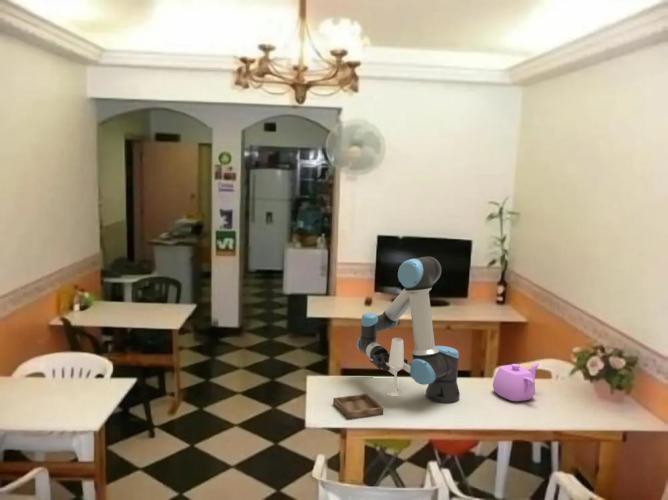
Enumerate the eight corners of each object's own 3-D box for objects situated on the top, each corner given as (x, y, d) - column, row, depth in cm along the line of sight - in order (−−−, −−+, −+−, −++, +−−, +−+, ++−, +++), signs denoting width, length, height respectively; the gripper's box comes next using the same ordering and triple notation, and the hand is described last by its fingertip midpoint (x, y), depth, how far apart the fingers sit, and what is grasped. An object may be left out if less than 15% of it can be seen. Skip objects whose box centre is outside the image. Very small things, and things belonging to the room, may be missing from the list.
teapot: (517, 409, 268) (520, 376, 266) (486, 391, 287) (489, 360, 285) (556, 402, 278) (559, 370, 275) (524, 385, 297) (527, 355, 294)
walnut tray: (366, 400, 271) (366, 393, 271) (383, 414, 257) (383, 408, 256) (333, 404, 265) (333, 397, 264) (348, 419, 250) (348, 413, 250)
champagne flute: (386, 395, 263) (389, 341, 259) (387, 389, 270) (390, 336, 266) (401, 396, 262) (405, 342, 258) (402, 390, 268) (406, 338, 264)
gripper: (395, 359, 284) (421, 376, 264) (357, 363, 277) (380, 381, 256) (396, 343, 283) (422, 359, 262) (358, 347, 276) (381, 364, 255)
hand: (401, 370), depth 259 cm, fingers closed on champagne flute, 7 cm apart
